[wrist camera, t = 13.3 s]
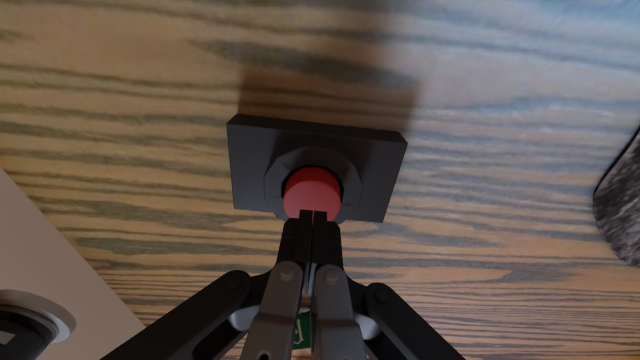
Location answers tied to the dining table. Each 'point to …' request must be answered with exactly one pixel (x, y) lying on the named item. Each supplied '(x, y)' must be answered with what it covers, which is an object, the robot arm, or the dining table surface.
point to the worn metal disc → (621, 205)
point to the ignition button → (312, 193)
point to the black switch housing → (312, 163)
